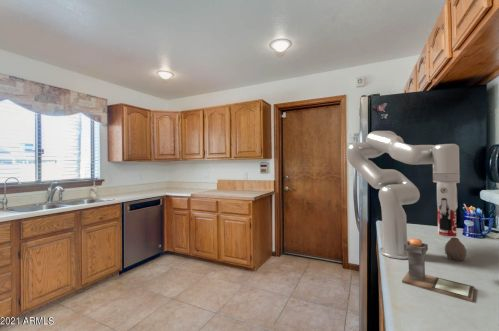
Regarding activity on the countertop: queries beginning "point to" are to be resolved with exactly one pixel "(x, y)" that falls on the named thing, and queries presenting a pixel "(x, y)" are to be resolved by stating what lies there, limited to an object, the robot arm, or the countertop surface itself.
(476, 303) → the countertop surface
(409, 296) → the countertop surface
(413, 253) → the activity board
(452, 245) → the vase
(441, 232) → the soda can
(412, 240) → the button
